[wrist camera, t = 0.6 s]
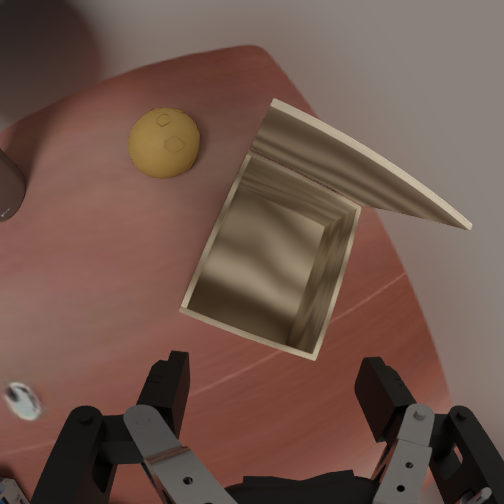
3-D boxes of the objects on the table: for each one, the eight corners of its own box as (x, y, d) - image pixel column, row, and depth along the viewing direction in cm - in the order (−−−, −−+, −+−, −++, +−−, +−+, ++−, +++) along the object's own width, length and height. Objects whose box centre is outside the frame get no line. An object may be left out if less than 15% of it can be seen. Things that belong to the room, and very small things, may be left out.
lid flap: (470, 230, 16) (472, 224, 16) (269, 105, 14) (273, 97, 14) (362, 205, 36) (363, 201, 36) (250, 148, 34) (252, 145, 34)
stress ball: (165, 202, 41) (161, 173, 31) (120, 162, 40) (107, 127, 30) (211, 157, 43) (219, 120, 34) (166, 121, 43) (165, 81, 33)
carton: (285, 349, 41) (315, 360, 31) (180, 309, 39) (178, 311, 29) (327, 226, 46) (361, 207, 36) (234, 182, 44) (248, 150, 34)
